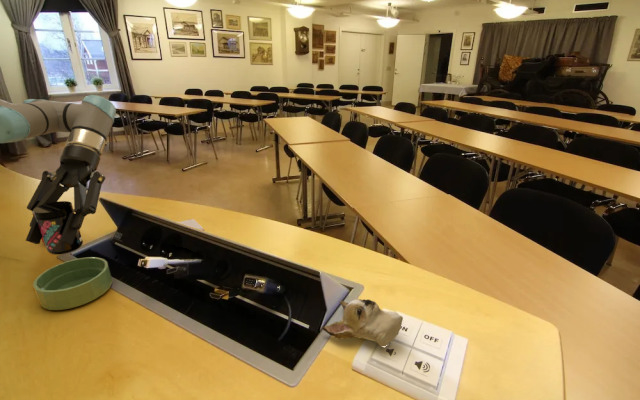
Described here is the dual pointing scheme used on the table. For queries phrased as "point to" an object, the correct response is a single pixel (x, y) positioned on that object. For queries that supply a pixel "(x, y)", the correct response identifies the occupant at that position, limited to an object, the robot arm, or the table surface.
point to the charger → (192, 224)
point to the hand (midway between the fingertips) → (49, 242)
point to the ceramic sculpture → (366, 322)
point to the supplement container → (56, 226)
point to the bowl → (73, 283)
